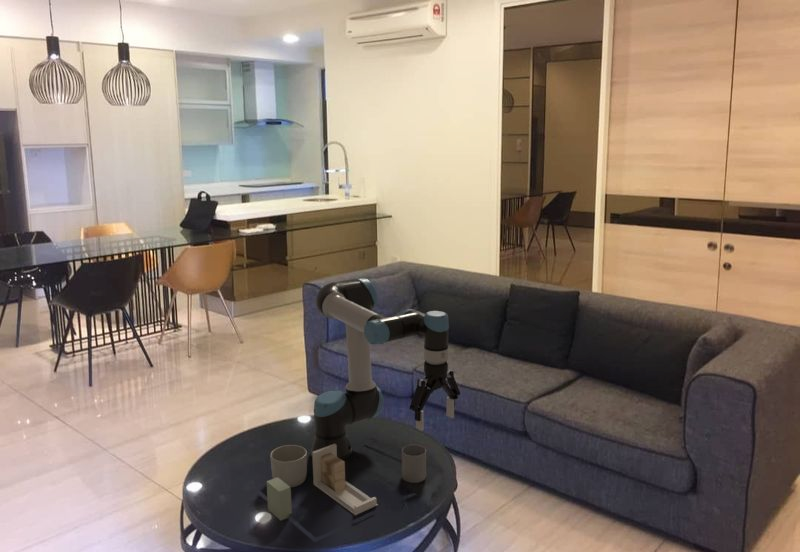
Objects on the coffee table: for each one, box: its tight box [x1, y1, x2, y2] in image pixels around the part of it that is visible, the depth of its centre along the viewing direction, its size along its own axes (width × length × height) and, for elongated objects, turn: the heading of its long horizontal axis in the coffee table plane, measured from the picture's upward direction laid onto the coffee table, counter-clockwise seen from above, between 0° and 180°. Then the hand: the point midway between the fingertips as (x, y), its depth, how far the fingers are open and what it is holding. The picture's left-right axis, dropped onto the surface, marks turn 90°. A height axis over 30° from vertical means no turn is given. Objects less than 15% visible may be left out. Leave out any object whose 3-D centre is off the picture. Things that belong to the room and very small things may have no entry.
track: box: [312, 444, 379, 516], centre depth 215 cm, size 24×9×13 cm, turn 40°
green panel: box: [266, 477, 293, 522], centre depth 207 cm, size 8×4×10 cm, turn 40°
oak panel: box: [321, 453, 346, 493], centre depth 220 cm, size 8×4×10 cm, turn 40°
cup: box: [401, 444, 427, 484], centre depth 228 cm, size 8×8×10 cm
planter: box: [269, 444, 308, 488], centre depth 225 cm, size 12×12×11 cm
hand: (435, 423), depth 210 cm, fingers open, 13 cm apart
